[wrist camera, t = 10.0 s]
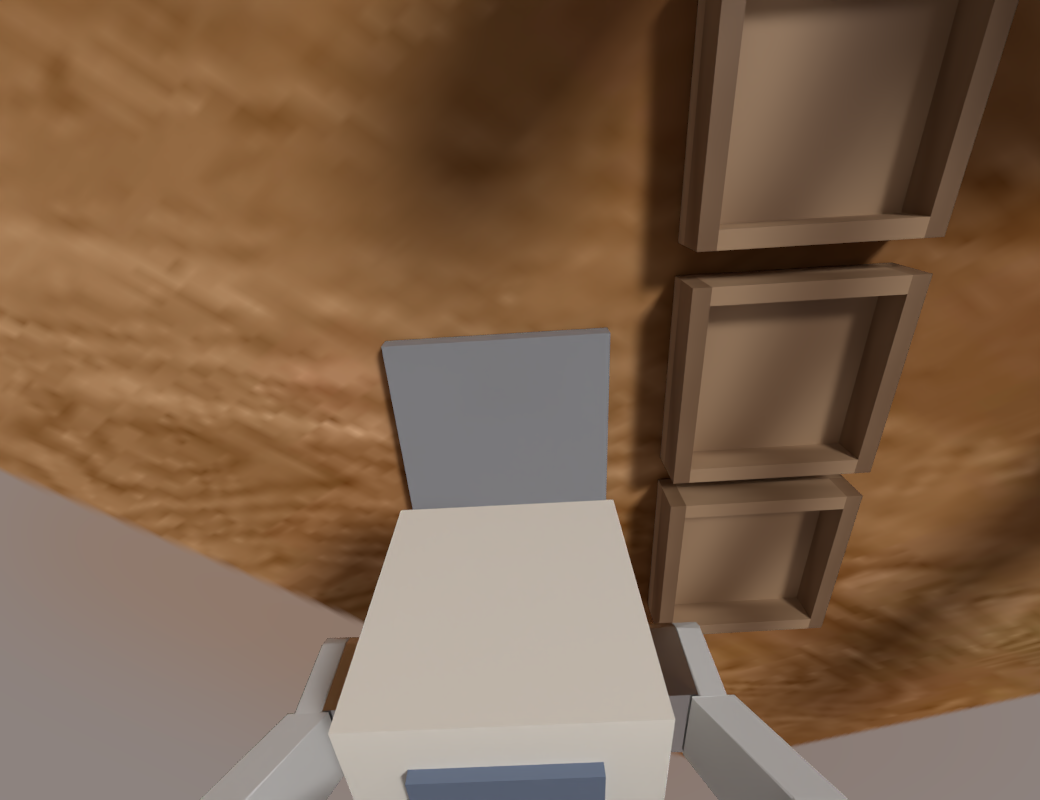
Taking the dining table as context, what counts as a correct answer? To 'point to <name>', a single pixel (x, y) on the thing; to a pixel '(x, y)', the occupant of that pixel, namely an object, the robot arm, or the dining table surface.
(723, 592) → the tray
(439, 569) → the white cube
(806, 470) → the tray
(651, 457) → the dining table surface
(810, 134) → the tray
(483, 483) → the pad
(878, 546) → the dining table surface
